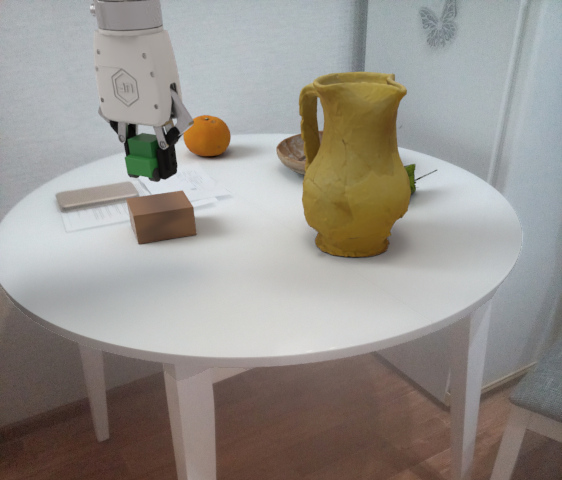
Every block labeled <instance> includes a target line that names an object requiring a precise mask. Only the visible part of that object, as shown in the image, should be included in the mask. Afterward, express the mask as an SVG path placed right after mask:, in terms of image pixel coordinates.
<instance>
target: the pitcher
mask: <svg viewBox="0 0 562 480" xmlns="http://www.w3.org/2000/svg"><path fill="white" fill-rule="evenodd" d="M407 93H408V90H407V88H406V86H405V85H403V84H401V83H400V82H397V81H396V75H395V73H386V72H383V73H382V72H375V71H347V72H330V73H327V74H322V75H320V76H317V77H316V78H314V79H313V81H312V82H310V83H308V84H306V85H304V86H303V87H302V88H301V90H300V92H299V97H298V115H299V116H300V117H301V119H300V126H299V127H300V134H301V138H302V140H303V141H304V155H305V157H306V162H305V172H306V174H305V175H303V179H302V180H303V181H302V196H301V203H302V208H303V215H304V219H305V221H306V224H307V225H308V226H309V228H311V229H313V230H314V231H316V232H317V234H316V237H315V238H314V244H315V246H316V248H318V249H320V250H319V251H321V252H324V253H327V254H328V255H332V256H338V257H344V258H347V257H349V258H350V257H352V258H359V257H361V258H364V257H366V258H368V257H374V256H378V255H380V254H383V253H385V252H387V251H388V250H389V245H390V240H389V239H388V237H391V236H392V233H391V230H392V228H393V226H394V224H395V223H396V221H398V220H400V219H403V217H404V216H406V213H408V211H409V205H410V200H411V195H412V193H411V190H410V182H409V177H408V174H407V171H406V169H405V167H404V166H405V165H404V163H403V161H402V158H401V156H400V152H399V145H398V135H397V134H398V132H397V131H398V130H397V119H398V113H399V111H398V109H399V108H400V104H401V101H402V100H403V98H404V97H406V95H407ZM318 99H319V103H320V106H321V108H322V113H323V128H322V131H323V136H322V141H321V144H320V138H319V131H320V130H319V122H318Z"/></svg>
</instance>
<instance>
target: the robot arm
mask: <svg viewBox="0 0 562 480" xmlns="http://www.w3.org/2000/svg"><path fill="white" fill-rule="evenodd" d="M92 1H93V2H92V3H90V5H89V11H90V14H91V16H93V17H94V18H95V19H96V23H97V28H98V29H96V30H94V31H93V39H92V41H93V43H92V45H93V65H94V74H95V82H96V83H95V84H96V89H97V95H98V99H99V100H98V101H99V107H98V110H97V112H98V114H99V116H100V117H101V118H102V119H103V120H104V121H105V122H106V123H107V124H109V126H110V128H111V129H112V130H113V131H114V132H115V133H116V135H117V139H118V141H119V142H120V143H121V144H123V147H124V153H125V157H126V156H128V155H130V150H129V144H128V139H130V138H132V137H134V136H137V135H139V126H146V127H152V128H153V131H154V135H156V137H157V140H158V144H159V146H160V148H158V149H157V150H156V154H157V161H158V167H159V172H160V178H161V180H165V181H166V180H168V179H170V178H171V177H173V176H174V175H176V174H177V173H178V160H176V159H177V152H175V151H176V144H178V143H179V140H180V139H181V138H182V136H183V133H184V132H185V131H187V130H188V129H189V128H190V127H191V126H192V125H193V124H194V120H193V119H194V118H193V117H192V115H191V114H190V112H189V111H188V109H187V107H186V106H185V105H184V103H183V96H182V89H181V81H180V76H179V71H178V66H177V61H176V56H175V52H174V48H173V45H172V41H171V38H170V34H169V32H168V30H167V29H164V23H163V22H164V21H163V14H162V6H161V5H162V4H161V0H92ZM175 119H176V123H174V120H175Z"/></svg>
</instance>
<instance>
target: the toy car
mask: <svg viewBox="0 0 562 480" xmlns="http://www.w3.org/2000/svg"><path fill="white" fill-rule="evenodd" d="M128 144H129V150H130V155H128V156H126V155H125V156H124V162H125V167H126V173H127V176H128V177H129V178H132V179H139V178H140V177H144V178H147V179H148V181H150V182H155V183H158V182H160V181H161V180H162V179H161V178H160V172H159V167H158V161H157V154H156V150H157V149H158V148H160V146H159V144H158V140H157V137H156V134H152V133H146V132H141V133H138V135H137V136H134V137H132V138H130V139H128ZM175 152H176V150H175ZM176 153H177V152H176ZM176 160H177V158H176ZM177 161H178V160H177Z"/></svg>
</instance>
